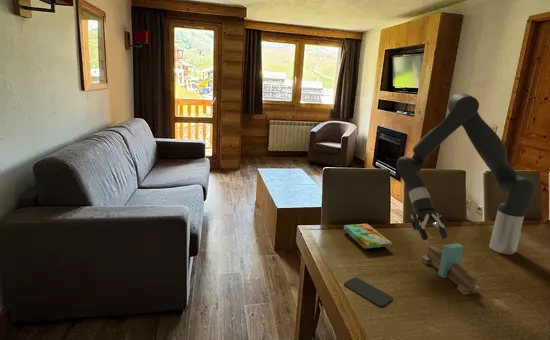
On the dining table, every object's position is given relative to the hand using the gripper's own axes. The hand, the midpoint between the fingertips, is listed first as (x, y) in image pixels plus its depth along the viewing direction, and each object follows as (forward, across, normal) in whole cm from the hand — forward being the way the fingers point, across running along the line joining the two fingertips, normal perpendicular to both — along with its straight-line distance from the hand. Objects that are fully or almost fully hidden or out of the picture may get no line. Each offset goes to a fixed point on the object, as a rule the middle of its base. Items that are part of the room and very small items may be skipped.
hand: (435, 238), depth 126 cm
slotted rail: (+14, 0, +1) cm, 14 cm away
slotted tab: (+14, 0, +1) cm, 14 cm away
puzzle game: (-7, -17, +22) cm, 29 cm away
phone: (+17, -35, -2) cm, 39 cm away
